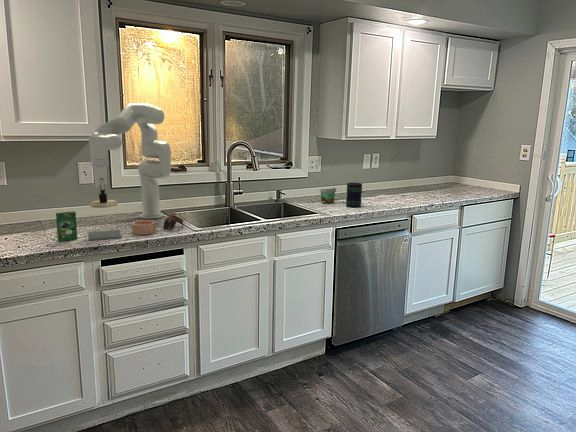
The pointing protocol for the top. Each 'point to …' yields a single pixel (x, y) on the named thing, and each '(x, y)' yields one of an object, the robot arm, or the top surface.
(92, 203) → the lid
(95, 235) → the mat
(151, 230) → the bowl
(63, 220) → the coffee box
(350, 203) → the storage jar
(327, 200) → the food container
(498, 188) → the top surface
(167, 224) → the pottery mug
